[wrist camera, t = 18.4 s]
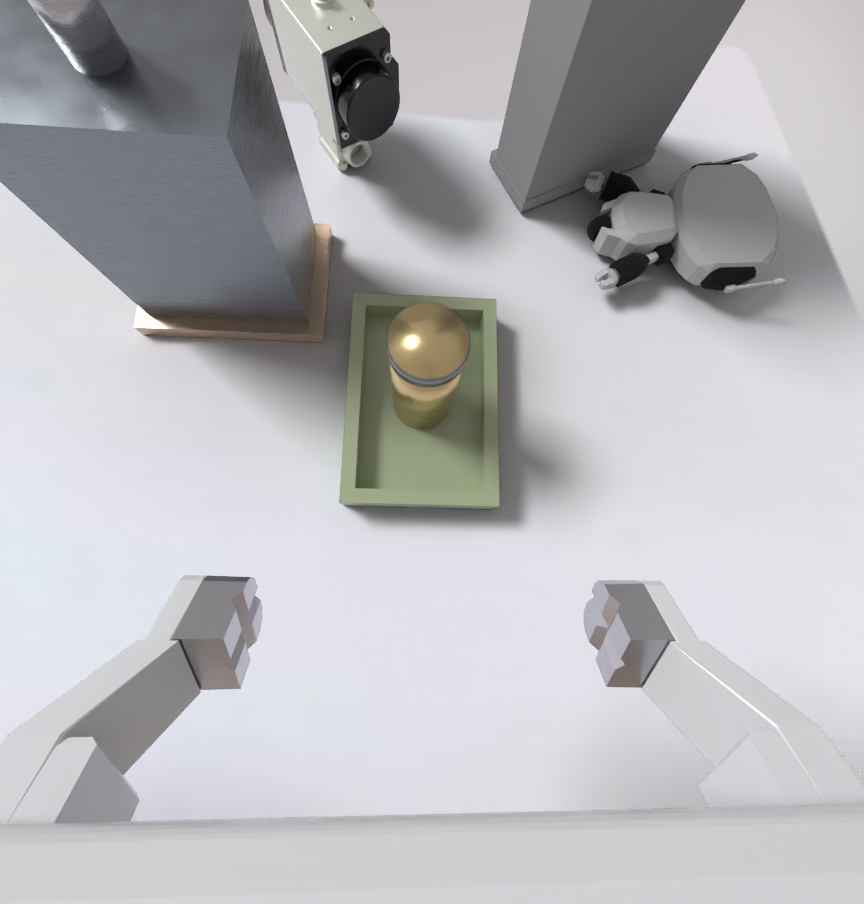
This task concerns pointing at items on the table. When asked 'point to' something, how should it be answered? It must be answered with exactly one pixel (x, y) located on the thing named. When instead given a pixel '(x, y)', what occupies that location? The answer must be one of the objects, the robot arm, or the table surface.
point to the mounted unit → (164, 162)
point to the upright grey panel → (599, 88)
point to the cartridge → (426, 362)
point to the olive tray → (414, 450)
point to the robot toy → (687, 226)
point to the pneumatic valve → (339, 70)
